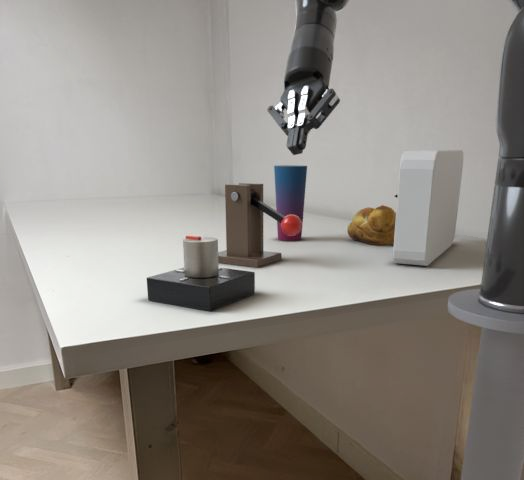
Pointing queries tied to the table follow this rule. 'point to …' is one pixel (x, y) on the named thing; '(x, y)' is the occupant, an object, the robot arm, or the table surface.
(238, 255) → the brown lever stand
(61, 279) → the table surface
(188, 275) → the knob
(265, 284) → the table surface
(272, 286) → the table surface
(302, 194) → the cup
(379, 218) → the bread roll
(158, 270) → the table surface
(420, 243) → the rounded white slab
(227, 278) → the black square base
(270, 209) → the lever
